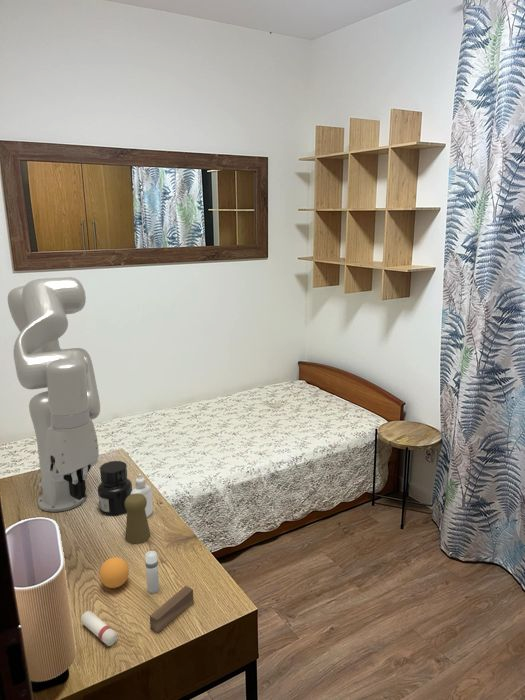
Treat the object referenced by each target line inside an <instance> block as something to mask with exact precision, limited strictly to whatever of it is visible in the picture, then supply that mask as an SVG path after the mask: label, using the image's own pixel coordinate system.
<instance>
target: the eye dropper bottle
mask: <svg viewBox="0 0 525 700" xmlns="http://www.w3.org/2000/svg"><path fill="white" fill-rule="evenodd" d="M134 482H135V487H134V488H132V492H131V494H136V493H138V494H142V495H144V496H145V498H146V501H147V504H146V507H145V512H146V516H147V518H149V517H150V516H151V515H152V514H153V512H154V507H153V504H154V503H153V494H152V492H153V490H152V487H151V486H150V485H148V484H146V478H145V477H143V475H142V473H138V475H137V477H136V478H135V481H134ZM131 494H130V495H131Z"/></svg>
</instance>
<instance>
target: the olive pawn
mask: <svg viewBox="0 0 525 700" xmlns="http://www.w3.org/2000/svg"><path fill="white" fill-rule="evenodd" d="M146 504H147V501H146V498H145V496H144V495H142V494H138V493H136V494H131V495H129V496H128V497H127V498H126V500H125V509H126V510H127V512H126V523H125V525H126V526H125V537H124V539H125V542H127V544H130V545H141V544H143V543H146V542H147V541H149V540H150V538H151V532H150V527H149V522H148V521H149V520H148V517H147V516H146V512H145V507H146Z"/></svg>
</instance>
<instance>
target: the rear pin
mask: <svg viewBox="0 0 525 700" xmlns="http://www.w3.org/2000/svg"><path fill="white" fill-rule="evenodd" d="M144 556H145V558H144V559H145V562H144V563H145V571H146V572H145V573H146V591H147V592H148V593H149V594H155V593H158V592H159V590H160V583H159V582H160V581H159V580H160V579H159V562H158V552H157V551H156V550H148V551H147V552H145V555H144Z"/></svg>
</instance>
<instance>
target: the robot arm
mask: <svg viewBox="0 0 525 700" xmlns="http://www.w3.org/2000/svg"><path fill="white" fill-rule="evenodd" d="M85 291H86V290H85V289H84V285H83V284H82V282H81V281H80V280H79V279H77V278H76V277H71V276H69V277H53V278H52V277H51V278H48V277H47V278H46V277H45V278H37V279H36V278H35V279H33V280H31V281H29V282H27V283H26V284H25V285H21V286H17V287H14V288H12V289H11V290H9V292H8V294H7V304H8V310H9V313H10V315H11V318H12V321H13V323H14V324H15V326H16V328H17V329H18V331H19V334H18V335H17V338H16V339H15V342H14V344H13V360H14V366H15V372H16V376H17V380H18V382H19V384H20V385H21V386H22V388H24V389H27V390H40V389H46V388H47V390H46V391H42V392H39V393H37V394H35V395H34V396H33V397H31V398H30V400H29V403H28V404H29V405H28V409H29V414H30V415H29V416H30V419H31V421H32V425H33V429H34V433H35V437H36V445H37V452H38V460H39V469H40V477H41V481H39V483H38V485H37V486H38V487H40V488H41V490H42V494H41V495H39V497H38V499H37V506H38V507H39V508H40V509H41V510H43V511H45V512H50V513H51V512H52V513H59V512H60V513H61V512H65V511H69V510H72V509H74V508H77V507H78V506H80V505H81V504H83V503H84V502H85V500H86V499H87V496H88V493H87V486H86V480H87V479H88V474H89V472H90V470H91V469H92V468H93V467H94V466H95V465H96V464H98V462H99V460H98V459H99V454H100V453H99V450H100V449H99V442H98V436H97V432H96V428H95V425H94V423H93V420H95V419H96V418H98V417H99V415H100V412H101V402H100V396H99V391H98V387H97V380H96V376H95V371H94V365H93V362H92V357H91V355H90V353H89V352H88V351H87V350H86V349H84V348H81V347H72V348H61V347H60V342H59V338H61V337H62V336H63V335H65V333H66V331H67V330H68V329H69V328H68V326H69V321H68V318H67V315H72V314H73V315H74V314H77V313H79V312H80V311H82V310H83V309H84V307H85V305H86V302H87V301H86V298H87V297H86V292H85Z"/></svg>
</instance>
